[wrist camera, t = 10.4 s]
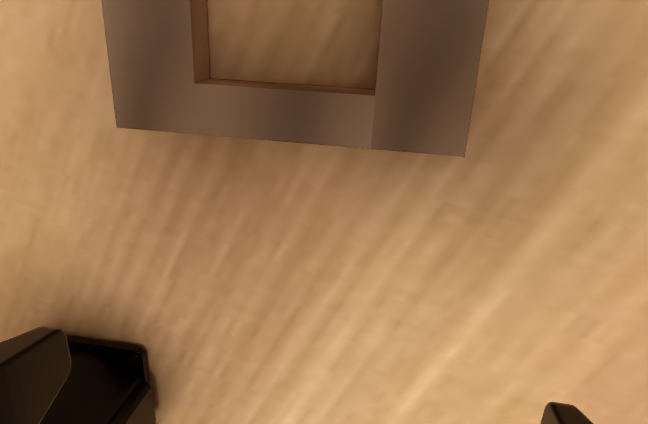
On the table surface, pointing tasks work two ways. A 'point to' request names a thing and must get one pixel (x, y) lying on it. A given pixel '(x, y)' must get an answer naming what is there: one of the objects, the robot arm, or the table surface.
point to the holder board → (294, 99)
